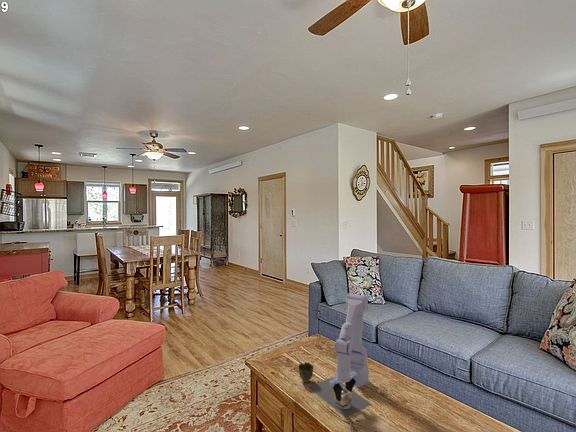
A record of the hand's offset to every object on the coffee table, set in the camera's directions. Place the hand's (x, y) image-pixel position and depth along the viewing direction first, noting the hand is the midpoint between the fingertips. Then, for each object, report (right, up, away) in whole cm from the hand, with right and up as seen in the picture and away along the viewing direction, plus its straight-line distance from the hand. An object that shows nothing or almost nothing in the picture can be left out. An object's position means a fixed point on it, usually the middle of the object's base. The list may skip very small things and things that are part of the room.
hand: (343, 397), depth 132 cm
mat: (-1, -4, +7) cm, 8 cm away
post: (0, -3, 0) cm, 3 cm away
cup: (-15, -4, +19) cm, 24 cm away
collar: (0, -2, 0) cm, 2 cm away
